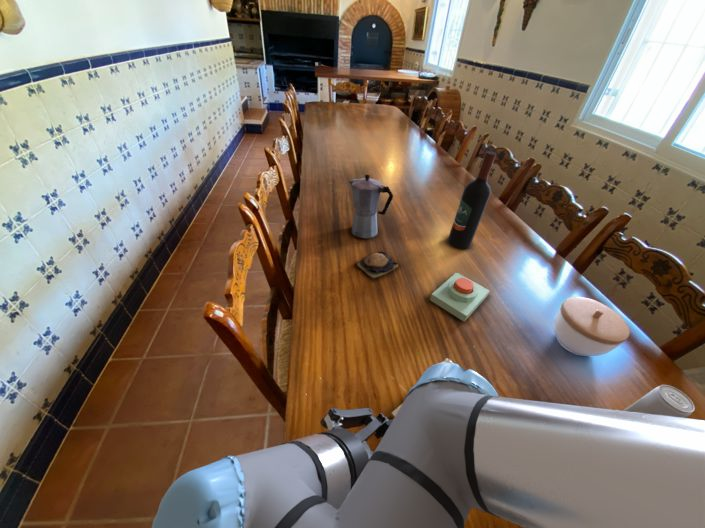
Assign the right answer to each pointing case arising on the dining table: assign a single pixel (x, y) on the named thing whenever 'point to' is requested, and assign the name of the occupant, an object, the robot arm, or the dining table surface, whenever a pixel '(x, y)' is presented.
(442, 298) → the button box
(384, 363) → the dining table surface
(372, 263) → the bread roll
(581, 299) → the lidded bowl
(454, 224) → the wine bottle
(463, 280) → the button
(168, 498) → the robot arm
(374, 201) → the moka pot
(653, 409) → the beverage can
